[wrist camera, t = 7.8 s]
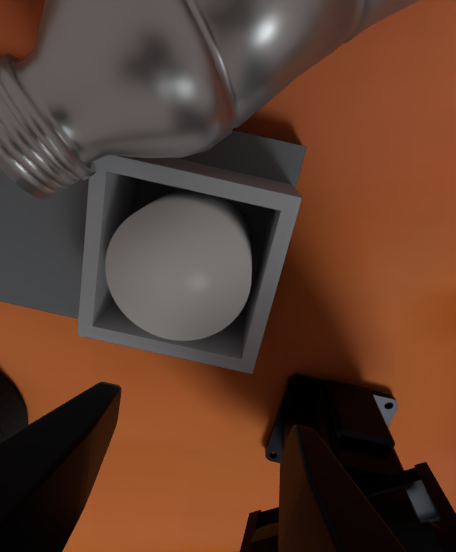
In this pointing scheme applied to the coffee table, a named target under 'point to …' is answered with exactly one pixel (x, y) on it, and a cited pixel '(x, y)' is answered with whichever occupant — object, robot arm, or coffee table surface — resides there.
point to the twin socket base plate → (123, 203)
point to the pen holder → (11, 410)
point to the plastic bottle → (156, 77)
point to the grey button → (181, 265)
